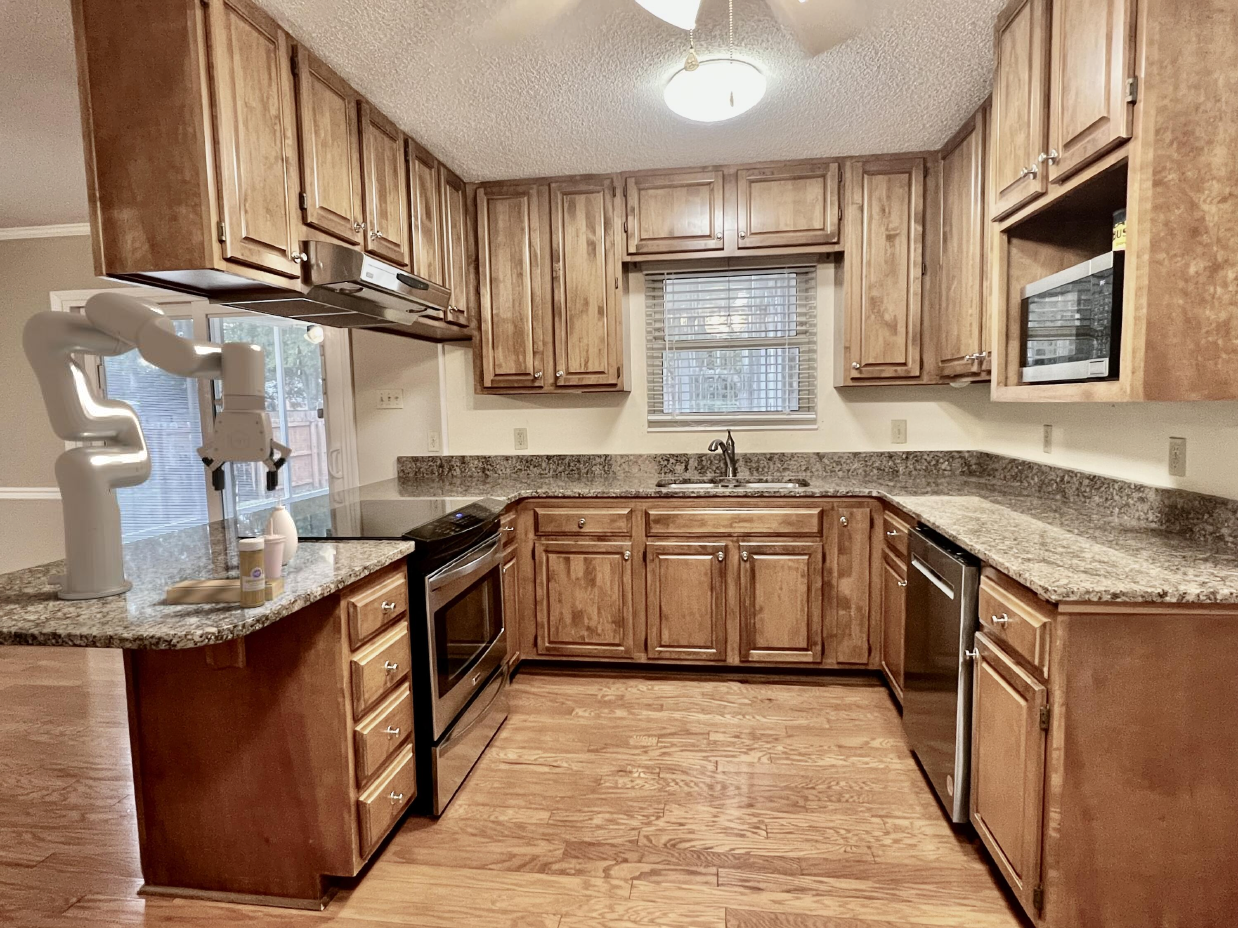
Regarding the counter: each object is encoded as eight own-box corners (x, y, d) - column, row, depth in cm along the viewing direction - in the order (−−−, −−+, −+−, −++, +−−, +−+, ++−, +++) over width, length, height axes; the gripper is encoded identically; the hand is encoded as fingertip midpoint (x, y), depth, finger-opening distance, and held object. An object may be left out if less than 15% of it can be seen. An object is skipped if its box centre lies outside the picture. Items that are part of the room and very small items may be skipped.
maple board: (166, 604, 132) (166, 589, 131) (183, 594, 139) (183, 580, 138) (272, 600, 135) (272, 585, 135) (284, 591, 142) (283, 577, 142)
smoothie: (290, 572, 159) (288, 516, 158) (281, 579, 153) (279, 520, 152) (262, 573, 158) (260, 516, 157) (252, 580, 152) (250, 521, 151)
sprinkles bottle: (251, 609, 129) (249, 542, 128) (234, 606, 130) (232, 540, 129) (271, 603, 133) (269, 538, 132) (254, 600, 134) (253, 536, 134)
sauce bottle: (262, 569, 163) (260, 498, 162) (265, 563, 170) (263, 494, 169) (297, 566, 166) (295, 496, 165) (298, 560, 173) (297, 493, 172)
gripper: (187, 403, 124) (189, 492, 125) (283, 405, 127) (285, 492, 128) (205, 404, 132) (207, 488, 133) (296, 406, 135) (297, 488, 136)
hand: (245, 490), depth 131 cm, fingers open, 9 cm apart
